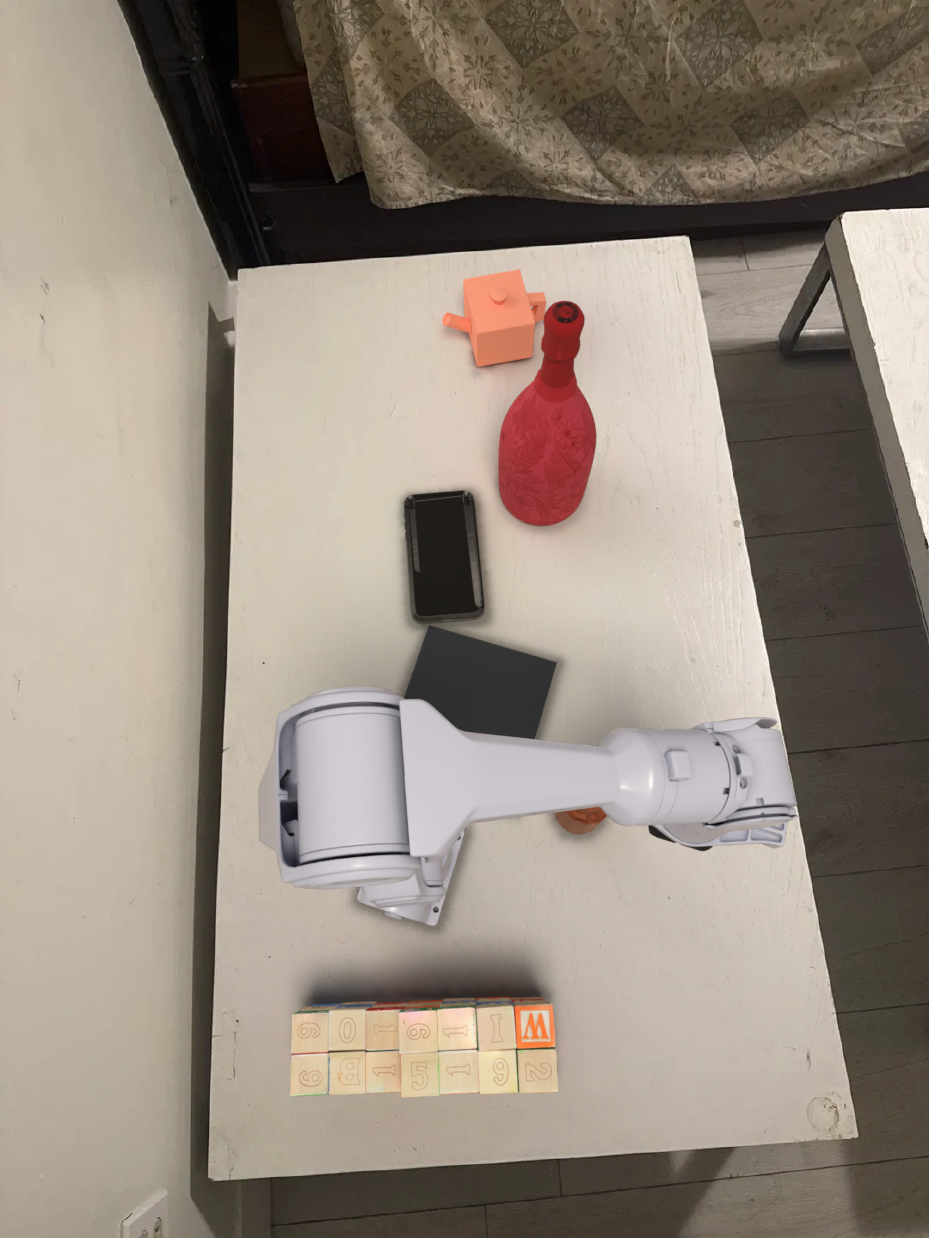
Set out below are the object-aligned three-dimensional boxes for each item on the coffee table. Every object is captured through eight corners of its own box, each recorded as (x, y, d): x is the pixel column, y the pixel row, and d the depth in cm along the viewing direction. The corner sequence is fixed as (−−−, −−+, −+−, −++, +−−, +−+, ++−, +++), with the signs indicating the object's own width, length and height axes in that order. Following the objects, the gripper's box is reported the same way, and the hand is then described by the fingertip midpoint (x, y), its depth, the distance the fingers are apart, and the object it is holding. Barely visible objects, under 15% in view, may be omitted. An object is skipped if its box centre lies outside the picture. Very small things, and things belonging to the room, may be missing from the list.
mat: (513, 811, 86) (514, 811, 85) (379, 770, 88) (379, 769, 87) (556, 663, 91) (556, 662, 91) (429, 626, 93) (429, 625, 92)
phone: (473, 489, 97) (485, 615, 92) (473, 494, 98) (485, 618, 93) (402, 495, 97) (410, 621, 92) (403, 500, 98) (411, 625, 93)
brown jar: (594, 840, 85) (610, 826, 75) (549, 826, 85) (558, 810, 75) (606, 794, 86) (623, 775, 76) (561, 781, 87) (572, 759, 77)
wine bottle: (585, 531, 96) (629, 363, 68) (496, 530, 97) (503, 362, 68) (583, 454, 100) (624, 263, 72) (497, 453, 100) (504, 262, 72)
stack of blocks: (309, 1079, 78) (279, 1103, 66) (311, 1002, 80) (282, 1013, 69) (548, 1070, 78) (560, 1093, 66) (543, 994, 80) (554, 1003, 69)
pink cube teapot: (438, 324, 106) (434, 276, 99) (534, 307, 107) (538, 258, 99) (450, 377, 104) (448, 331, 96) (548, 359, 104) (554, 312, 97)
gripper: (815, 773, 64) (759, 801, 77) (623, 717, 66) (600, 753, 79) (798, 868, 62) (744, 880, 75) (600, 807, 64) (580, 829, 76)
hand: (669, 820), depth 77 cm, fingers closed
